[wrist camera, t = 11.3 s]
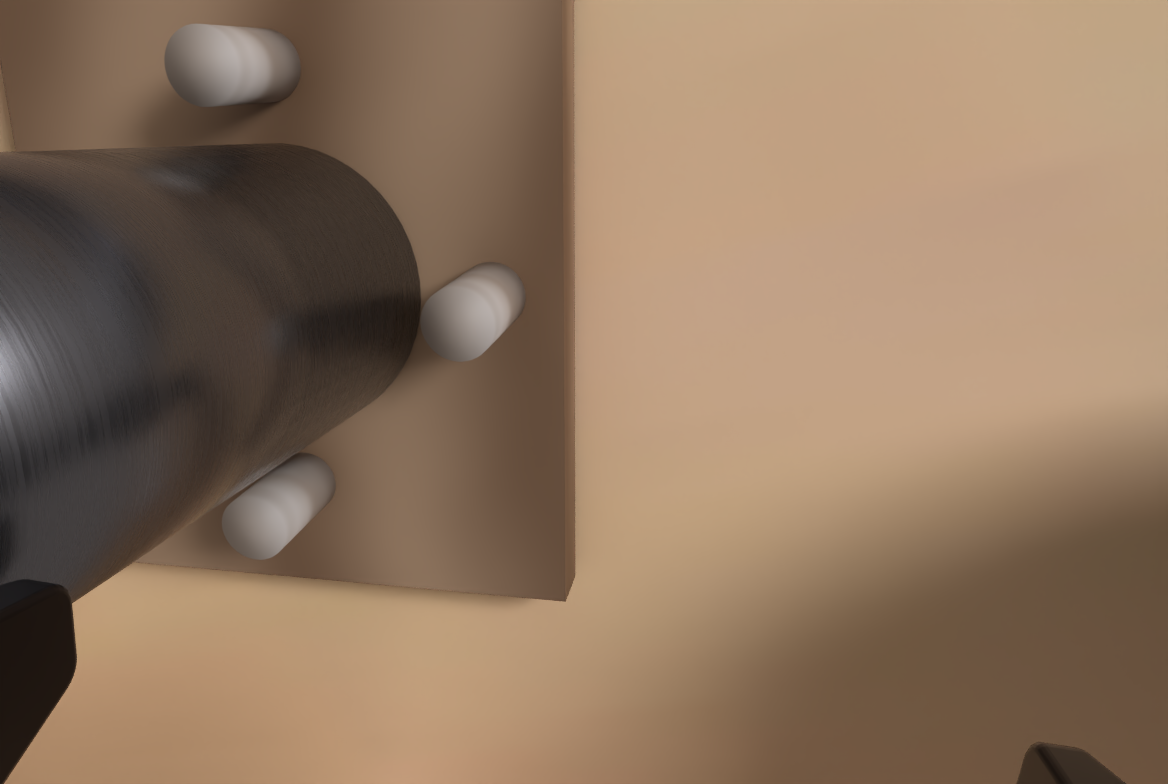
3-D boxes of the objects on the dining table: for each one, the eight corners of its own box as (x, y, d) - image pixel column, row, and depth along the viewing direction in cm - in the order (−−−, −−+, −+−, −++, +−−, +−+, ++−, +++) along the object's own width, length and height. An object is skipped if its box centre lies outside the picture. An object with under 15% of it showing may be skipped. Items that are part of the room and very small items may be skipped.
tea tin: (357, 96, 20) (-353, 47, 7) (465, 381, 21) (3, 749, 9) (111, 198, 21) (-809, 296, 9) (223, 457, 22) (-460, 861, 10)
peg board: (573, -71, 19) (531, -100, 16) (575, 576, 24) (542, 663, 20) (20, -58, 21) (-126, -82, 18) (116, 536, 26) (14, 610, 22)
